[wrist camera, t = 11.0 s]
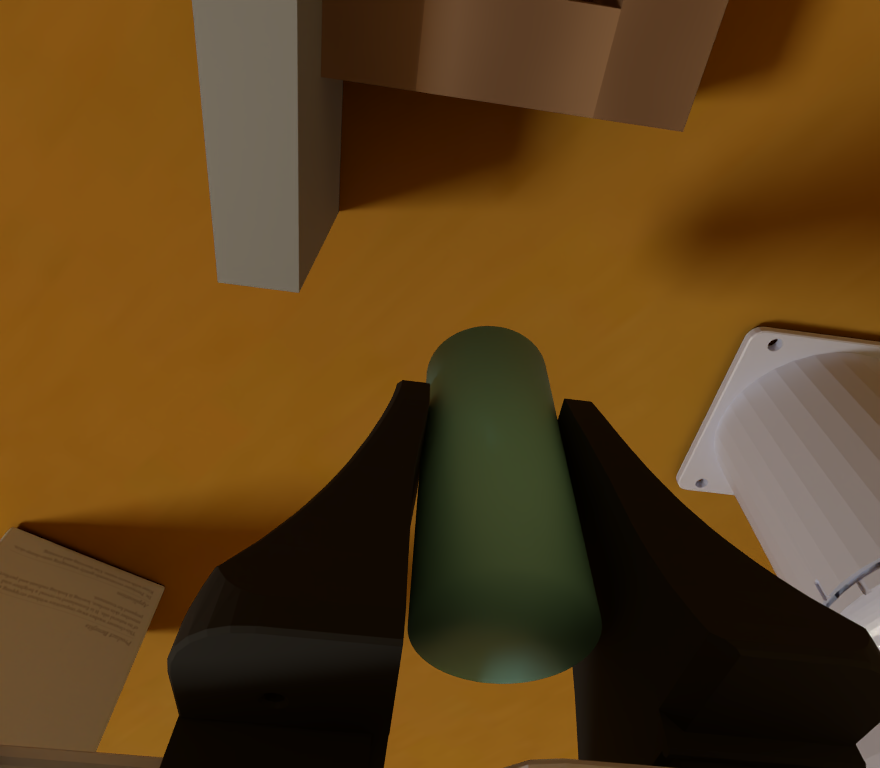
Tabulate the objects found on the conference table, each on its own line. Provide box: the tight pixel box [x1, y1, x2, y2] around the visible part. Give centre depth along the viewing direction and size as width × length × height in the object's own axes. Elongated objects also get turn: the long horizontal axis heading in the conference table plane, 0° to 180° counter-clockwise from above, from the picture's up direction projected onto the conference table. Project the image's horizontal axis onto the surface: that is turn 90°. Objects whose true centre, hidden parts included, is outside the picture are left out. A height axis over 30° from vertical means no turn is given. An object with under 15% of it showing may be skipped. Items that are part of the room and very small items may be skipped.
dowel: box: [408, 326, 602, 684], centre depth 12 cm, size 3×3×7 cm
